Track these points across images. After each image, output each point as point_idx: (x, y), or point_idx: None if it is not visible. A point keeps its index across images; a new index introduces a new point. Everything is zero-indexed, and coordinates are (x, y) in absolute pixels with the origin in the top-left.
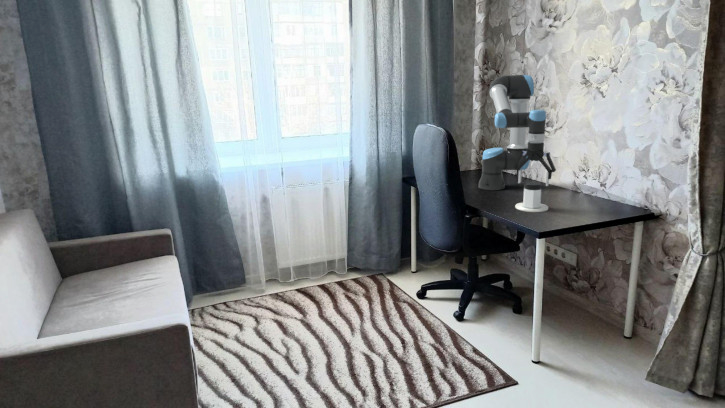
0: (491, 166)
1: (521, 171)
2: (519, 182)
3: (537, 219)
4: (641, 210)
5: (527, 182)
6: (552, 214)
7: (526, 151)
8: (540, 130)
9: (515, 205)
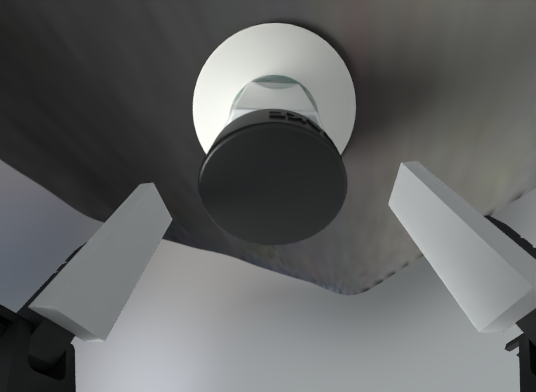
0: None
1: (81, 285)
2: (169, 223)
3: (334, 237)
4: None
5: (217, 192)
6: (377, 170)
7: None
8: None
9: (206, 152)
